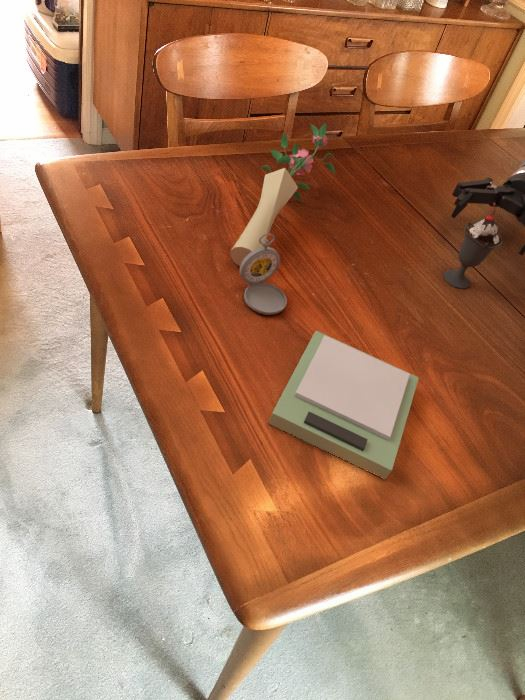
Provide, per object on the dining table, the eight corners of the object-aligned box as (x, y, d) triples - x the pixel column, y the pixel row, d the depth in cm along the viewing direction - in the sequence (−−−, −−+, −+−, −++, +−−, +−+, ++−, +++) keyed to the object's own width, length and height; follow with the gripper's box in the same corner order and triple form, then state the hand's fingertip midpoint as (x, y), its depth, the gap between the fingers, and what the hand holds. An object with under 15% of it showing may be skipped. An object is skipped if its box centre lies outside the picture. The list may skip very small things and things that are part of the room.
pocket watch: (272, 323, 83) (289, 272, 75) (225, 297, 84) (237, 244, 77) (296, 295, 88) (314, 245, 81) (251, 271, 90) (265, 220, 82)
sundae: (453, 263, 104) (494, 194, 93) (480, 286, 101) (526, 217, 90) (431, 272, 100) (471, 201, 89) (458, 296, 97) (503, 225, 86)
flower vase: (220, 288, 97) (282, 163, 114) (287, 299, 93) (340, 168, 111) (204, 238, 87) (275, 110, 105) (278, 248, 83) (338, 113, 101)
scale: (412, 387, 80) (421, 373, 78) (384, 480, 68) (394, 467, 66) (311, 341, 82) (317, 326, 80) (267, 423, 70) (273, 409, 68)
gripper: (569, 235, 112) (542, 281, 98) (459, 177, 119) (420, 213, 105) (593, 204, 106) (567, 248, 93) (476, 145, 113) (437, 178, 100)
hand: (489, 229), depth 99 cm, fingers open, 13 cm apart
